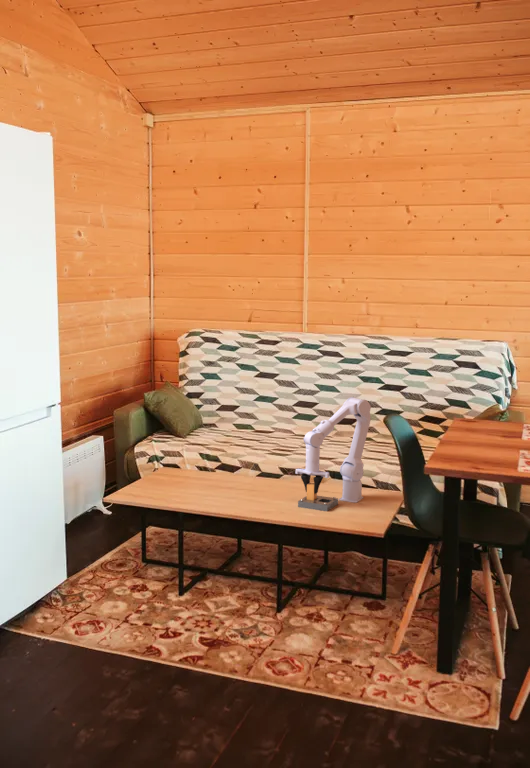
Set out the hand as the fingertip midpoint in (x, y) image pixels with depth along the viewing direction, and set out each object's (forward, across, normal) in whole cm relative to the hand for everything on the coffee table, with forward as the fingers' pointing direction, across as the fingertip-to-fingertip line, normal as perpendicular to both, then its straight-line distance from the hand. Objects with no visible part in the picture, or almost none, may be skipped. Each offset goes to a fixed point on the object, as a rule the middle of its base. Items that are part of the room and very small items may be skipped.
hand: (311, 492), depth 324 cm
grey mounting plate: (+5, +3, 0) cm, 6 cm away
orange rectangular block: (+3, 0, 0) cm, 3 cm away
